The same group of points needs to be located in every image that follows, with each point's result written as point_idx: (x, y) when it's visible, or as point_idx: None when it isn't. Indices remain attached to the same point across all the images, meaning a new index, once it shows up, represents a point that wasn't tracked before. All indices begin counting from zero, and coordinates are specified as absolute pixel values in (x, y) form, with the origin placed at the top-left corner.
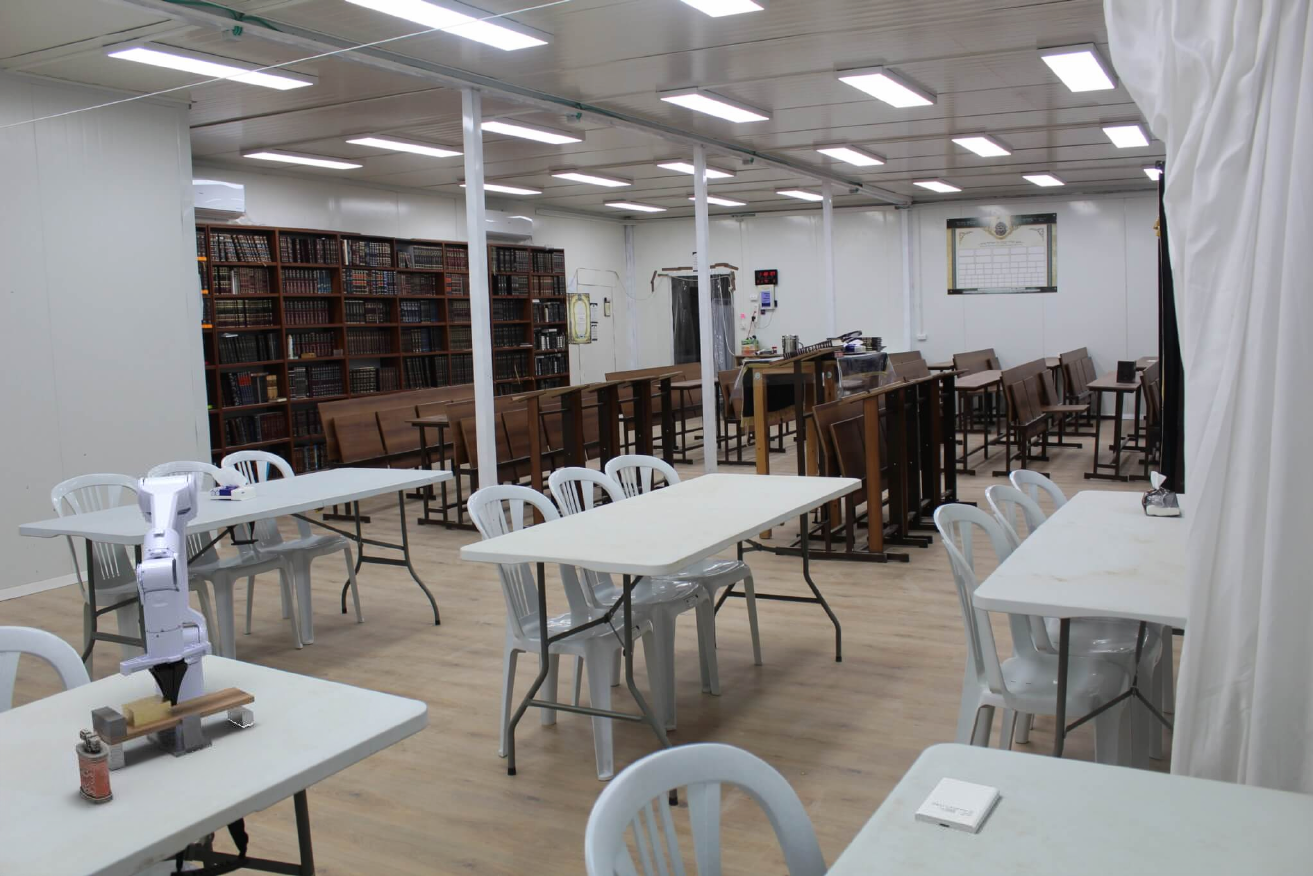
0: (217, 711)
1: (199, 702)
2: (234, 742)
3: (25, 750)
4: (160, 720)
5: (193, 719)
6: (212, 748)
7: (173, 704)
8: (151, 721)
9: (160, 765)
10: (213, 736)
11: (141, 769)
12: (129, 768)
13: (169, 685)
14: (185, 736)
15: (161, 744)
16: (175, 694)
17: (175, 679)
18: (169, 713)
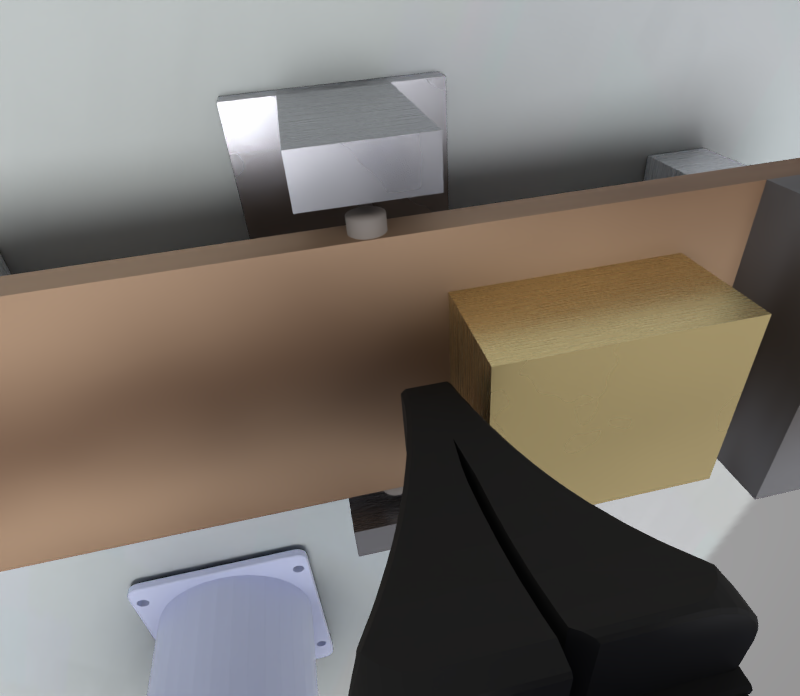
0: (119, 264)
1: (220, 450)
2: (67, 35)
3: (712, 514)
4: (527, 281)
5: (342, 136)
6: (224, 44)
7: (430, 389)
8: (591, 276)
9: (544, 10)
10: (185, 246)
11: (628, 38)
12: (650, 109)
13: (522, 492)
14: (397, 99)
15: None
16: (435, 435)
17: (479, 541)
18: (475, 306)
